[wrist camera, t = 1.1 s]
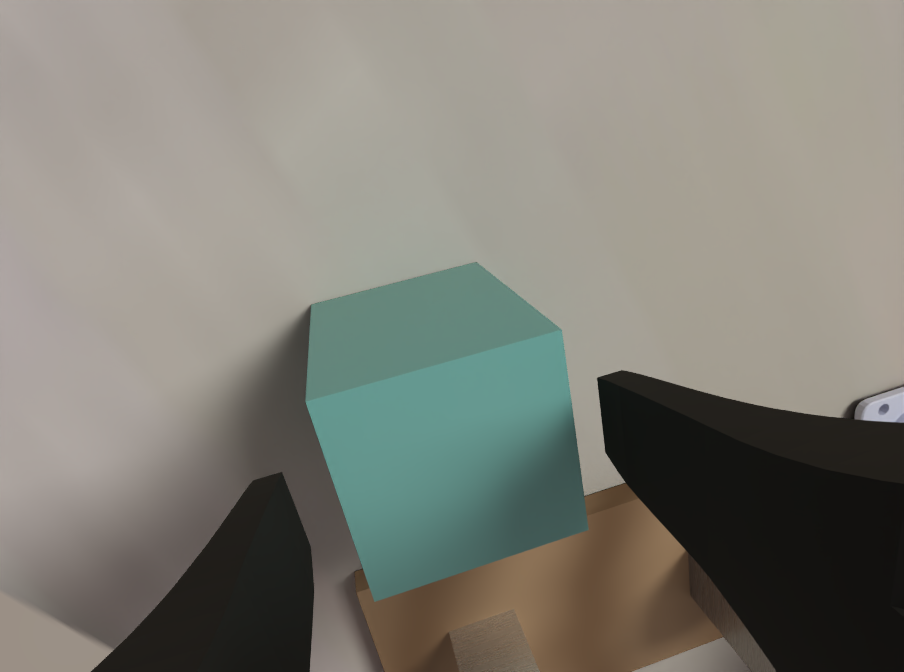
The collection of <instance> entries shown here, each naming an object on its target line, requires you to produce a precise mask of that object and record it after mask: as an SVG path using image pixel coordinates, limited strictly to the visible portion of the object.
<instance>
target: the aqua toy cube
mask: <svg viewBox="0 0 904 672" xmlns="http://www.w3.org/2000/svg"><path fill="white" fill-rule="evenodd" d="M305 402H306V405H307V408H308V411H309V414H310V417H311V420H312V422H313V425H314V428H315V431H316V434H317V437H318V440H319V443H320V446H321V448H322V451H323V454H324V457H325V460H326V463H327V466H328V469H329V472H330V475H331V477H332V480H333V483H334V486H335V489H336V492H337V495H338V498H339V501H340V504H341V506H342V509H343V512H344V515H345V518H346V521H347V524H348V527H349V530H350V533H351V535H352V538H353V541H354V544H355V547H356V550H357V553H358V556H359V559H360V562H361V564H362V567H363V570H364V573H365V576H366V579H367V582H368V585H369V588H370V591H371V593H372V596H373V599H374V602H376V601H379V600H382V599H385V598H388V597H391V596H394V595H397V594H400V593H403V592H406V591H409V590H412V589H415V588H418V587H421V586H424V585H427V584H430V583H432V582H435V581H438V580H441V579H444V578H447V577H450V576H453V575H456V574H459V573H462V572H465V571H468V570H471V569H474V568H477V567H480V566H483V565H486V564H489V563H492V562H495V561H498V560H501V559H504V558H507V557H510V556H513V555H516V554H519V553H522V552H525V551H528V550H531V549H534V548H537V547H540V546H542V545H545V544H548V543H551V542H554V541H557V540H560V539H563V538H566V537H569V536H572V535H575V534H578V533H581V532H584V531H587V530H589V528H588V521H587V514H586V506H585V499H584V491H583V484H582V477H581V469H580V462H579V454H578V447H577V439H576V432H575V425H574V417H573V410H572V402H571V395H570V388H569V380H568V373H567V365H566V358H565V350H564V343H563V336H562V330H561V329H560V328H559V327H558V326H556V325H555V324H554V323H553V322H551V321H550V320H549V319H548V318H546V317H545V316H544V315H543V314H541V313H540V312H539V311H538V310H536V309H535V308H534V307H532V306H531V305H530V304H529V303H527V302H526V301H525V300H524V299H522V298H521V297H520V296H519V295H517V294H516V293H515V292H514V291H512V290H511V289H510V288H509V287H507V286H506V285H505V284H503V283H502V282H501V281H500V280H498V279H497V278H496V277H495V276H493V275H492V274H491V273H490V272H488V271H487V270H486V269H485V268H483V267H482V266H481V265H480V264H478V263H477V262H475V263H471V264H467V265H463V266H459V267H455V268H451V269H447V270H444V271H440V272H436V273H432V274H428V275H424V276H420V277H416V278H413V279H409V280H405V281H401V282H397V283H393V284H389V285H385V286H382V287H378V288H374V289H370V290H366V291H362V292H358V293H354V294H351V295H347V296H343V297H339V298H335V299H331V300H327V301H323V302H320V303H316V304H312V305H311V318H310V334H309V351H308V367H307V384H306V400H305Z"/></svg>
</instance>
